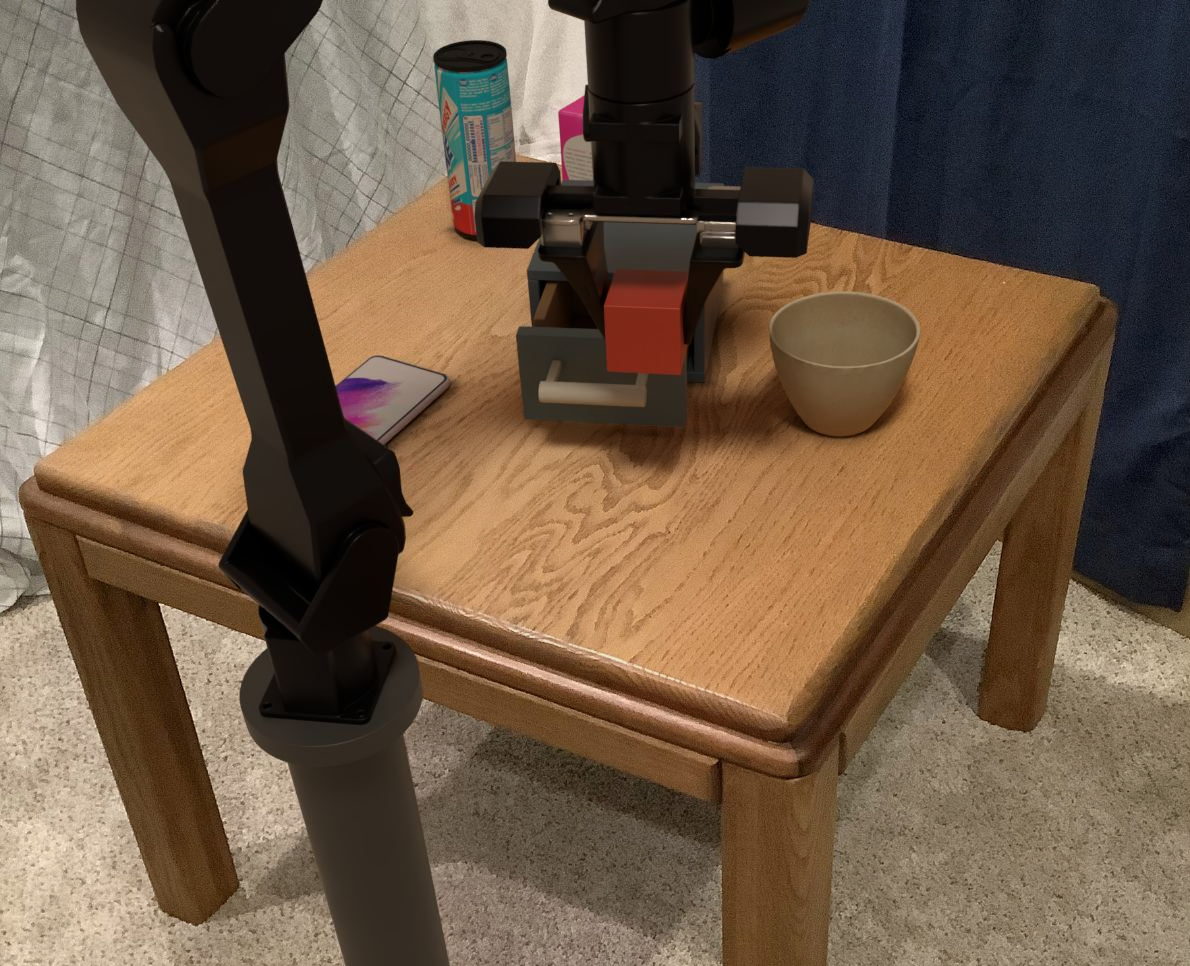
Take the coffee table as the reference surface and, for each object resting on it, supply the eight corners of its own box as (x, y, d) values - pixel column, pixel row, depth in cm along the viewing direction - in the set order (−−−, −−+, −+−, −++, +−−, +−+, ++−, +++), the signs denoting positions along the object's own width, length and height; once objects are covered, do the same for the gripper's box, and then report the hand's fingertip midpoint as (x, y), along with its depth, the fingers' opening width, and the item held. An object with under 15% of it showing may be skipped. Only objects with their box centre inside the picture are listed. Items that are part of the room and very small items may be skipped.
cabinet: (704, 382, 104) (705, 275, 98) (535, 375, 106) (526, 269, 100) (722, 284, 115) (724, 182, 109) (569, 279, 117) (562, 179, 111)
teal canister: (481, 206, 127) (463, 35, 117) (535, 221, 125) (521, 46, 115) (440, 233, 124) (417, 59, 114) (494, 249, 121) (476, 72, 111)
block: (680, 375, 85) (679, 308, 82) (606, 372, 86) (603, 305, 83) (690, 336, 89) (689, 270, 85) (618, 333, 89) (615, 268, 86)
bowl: (861, 365, 105) (869, 277, 100) (937, 434, 98) (950, 342, 93) (740, 400, 102) (742, 311, 97) (810, 473, 95) (816, 381, 90)
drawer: (678, 463, 95) (677, 375, 91) (511, 454, 97) (502, 368, 92) (705, 327, 108) (705, 245, 104) (557, 322, 110) (551, 240, 105)
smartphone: (453, 375, 105) (331, 484, 95) (454, 385, 105) (333, 494, 96) (373, 351, 108) (246, 455, 98) (375, 361, 108) (249, 466, 99)
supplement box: (657, 229, 122) (655, 96, 115) (621, 258, 119) (616, 123, 111) (600, 215, 125) (594, 84, 117) (563, 243, 121) (554, 110, 114)
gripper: (825, 29, 80) (811, 280, 91) (503, 27, 83) (526, 269, 94) (813, 109, 72) (800, 374, 83) (457, 103, 75) (488, 359, 86)
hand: (648, 339), depth 87 cm, fingers closed on block, 4 cm apart
